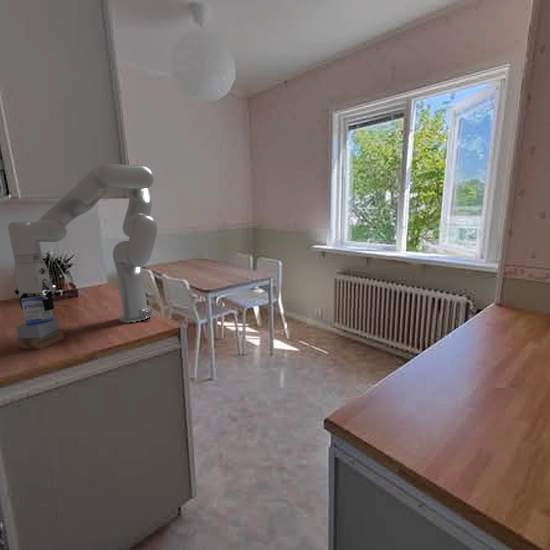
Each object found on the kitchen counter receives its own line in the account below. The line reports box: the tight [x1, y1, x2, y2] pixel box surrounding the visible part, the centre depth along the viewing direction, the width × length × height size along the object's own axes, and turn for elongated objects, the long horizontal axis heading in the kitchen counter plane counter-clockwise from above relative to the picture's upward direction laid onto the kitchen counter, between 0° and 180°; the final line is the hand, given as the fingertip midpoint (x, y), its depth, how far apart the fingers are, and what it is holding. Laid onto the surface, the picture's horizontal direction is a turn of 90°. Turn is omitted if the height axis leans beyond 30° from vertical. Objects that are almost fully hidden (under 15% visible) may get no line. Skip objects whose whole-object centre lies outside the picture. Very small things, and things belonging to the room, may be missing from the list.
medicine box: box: [21, 295, 54, 325], centre depth 116 cm, size 8×4×9 cm, turn 123°
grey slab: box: [16, 318, 60, 338], centre depth 116 cm, size 8×8×4 cm
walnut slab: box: [17, 328, 65, 350], centre depth 117 cm, size 9×9×4 cm
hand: (38, 309), depth 116 cm, fingers open, 9 cm apart
